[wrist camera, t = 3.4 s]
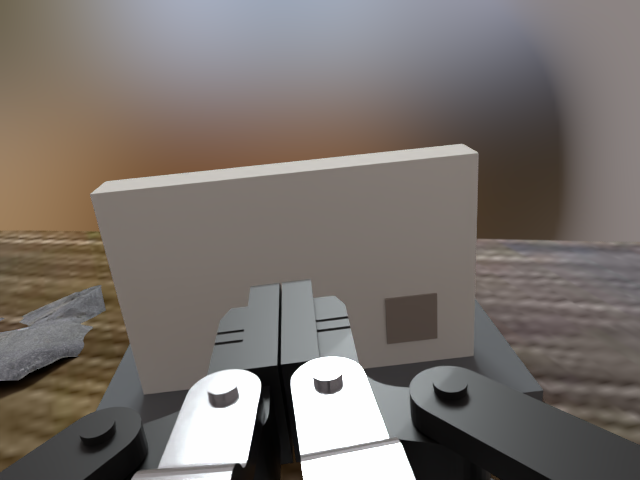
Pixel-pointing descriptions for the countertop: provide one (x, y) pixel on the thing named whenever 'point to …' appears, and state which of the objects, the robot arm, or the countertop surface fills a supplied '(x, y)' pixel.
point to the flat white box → (297, 253)
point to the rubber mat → (488, 361)
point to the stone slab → (49, 334)
